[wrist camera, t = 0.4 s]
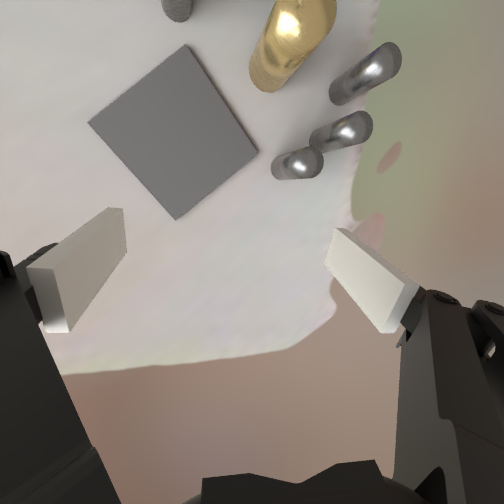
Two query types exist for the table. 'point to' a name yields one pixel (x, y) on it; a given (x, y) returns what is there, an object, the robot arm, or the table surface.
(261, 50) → the brass canister
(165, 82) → the mat
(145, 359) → the table surface
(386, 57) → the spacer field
